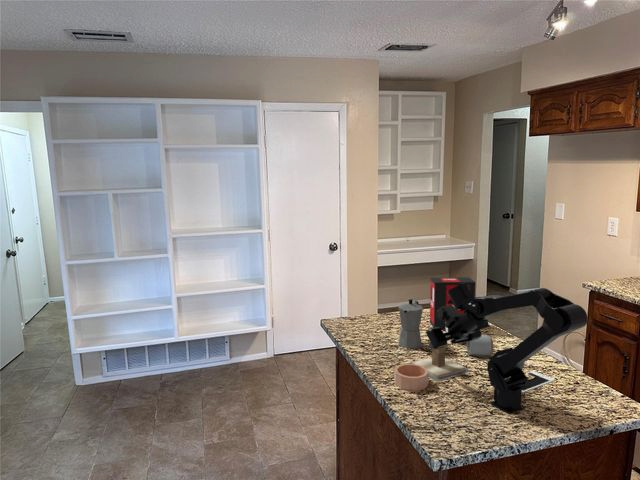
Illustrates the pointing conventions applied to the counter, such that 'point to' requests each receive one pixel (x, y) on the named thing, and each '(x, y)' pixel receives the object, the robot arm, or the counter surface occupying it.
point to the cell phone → (536, 381)
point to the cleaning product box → (445, 296)
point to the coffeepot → (410, 324)
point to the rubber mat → (448, 375)
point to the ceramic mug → (480, 346)
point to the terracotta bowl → (411, 377)
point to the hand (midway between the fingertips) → (440, 345)
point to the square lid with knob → (439, 364)
